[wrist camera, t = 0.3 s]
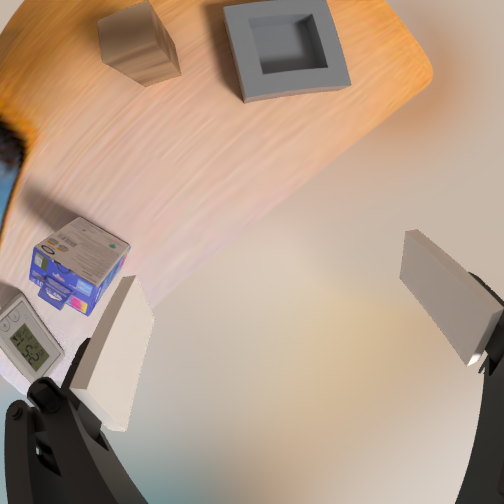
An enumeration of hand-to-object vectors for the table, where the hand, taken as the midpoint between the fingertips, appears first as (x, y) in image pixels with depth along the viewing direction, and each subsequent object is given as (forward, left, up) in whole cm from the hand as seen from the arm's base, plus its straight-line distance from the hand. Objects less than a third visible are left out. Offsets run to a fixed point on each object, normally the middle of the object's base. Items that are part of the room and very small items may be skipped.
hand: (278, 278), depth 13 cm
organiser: (-18, +9, -26) cm, 32 cm away
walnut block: (-20, -7, -26) cm, 33 cm away
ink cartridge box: (+2, -23, -26) cm, 35 cm away
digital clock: (+14, -46, -26) cm, 55 cm away
